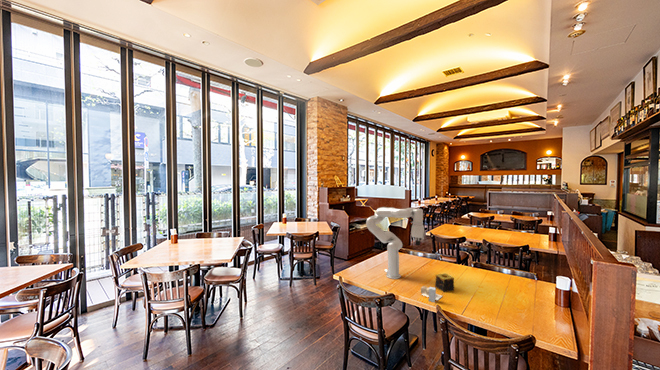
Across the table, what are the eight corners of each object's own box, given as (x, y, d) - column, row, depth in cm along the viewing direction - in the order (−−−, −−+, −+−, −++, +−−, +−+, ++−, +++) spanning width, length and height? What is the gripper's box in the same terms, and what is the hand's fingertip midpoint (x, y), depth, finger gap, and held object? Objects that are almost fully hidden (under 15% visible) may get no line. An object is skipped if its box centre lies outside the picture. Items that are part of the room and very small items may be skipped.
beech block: (420, 287, 196) (432, 291, 190) (423, 286, 199) (434, 289, 192) (420, 292, 196) (432, 296, 190) (423, 291, 199) (434, 294, 193)
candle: (443, 292, 198) (443, 279, 198) (434, 286, 208) (434, 274, 207) (454, 290, 201) (454, 277, 200) (445, 285, 210) (445, 273, 210)
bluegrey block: (428, 301, 184) (428, 288, 184) (429, 298, 188) (429, 286, 187) (434, 302, 182) (434, 289, 182) (435, 300, 185) (435, 287, 185)
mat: (421, 295, 193) (421, 294, 193) (426, 291, 200) (426, 290, 200) (437, 300, 185) (437, 300, 185) (442, 296, 191) (442, 295, 191)
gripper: (407, 223, 218) (407, 244, 219) (424, 225, 207) (424, 248, 208) (412, 221, 223) (411, 242, 224) (428, 224, 213) (428, 246, 213)
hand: (417, 245), depth 216 cm, fingers closed
